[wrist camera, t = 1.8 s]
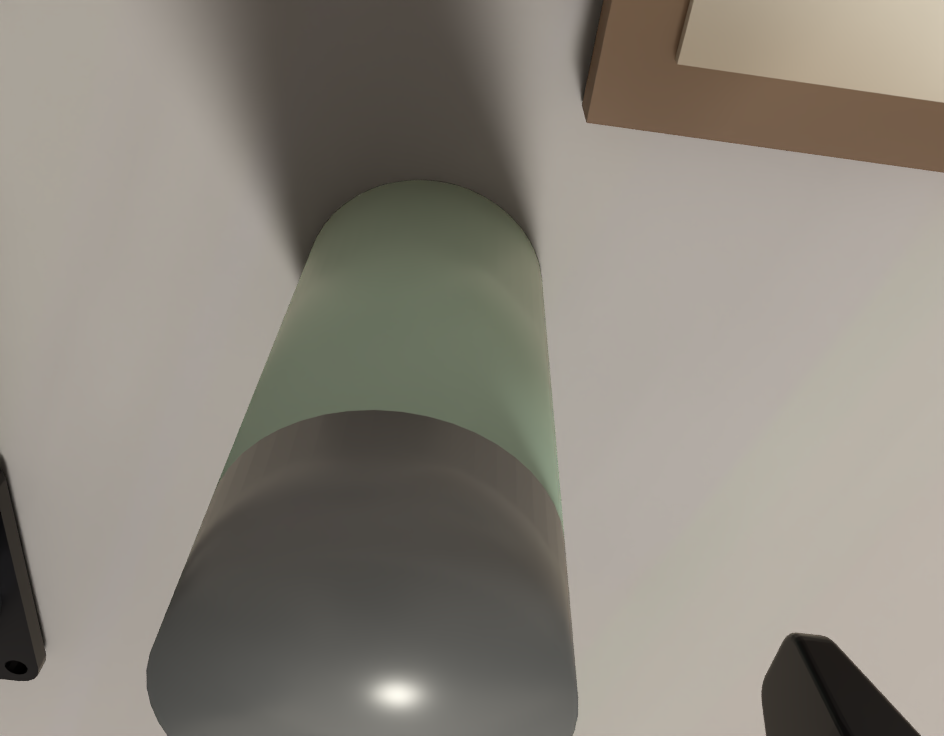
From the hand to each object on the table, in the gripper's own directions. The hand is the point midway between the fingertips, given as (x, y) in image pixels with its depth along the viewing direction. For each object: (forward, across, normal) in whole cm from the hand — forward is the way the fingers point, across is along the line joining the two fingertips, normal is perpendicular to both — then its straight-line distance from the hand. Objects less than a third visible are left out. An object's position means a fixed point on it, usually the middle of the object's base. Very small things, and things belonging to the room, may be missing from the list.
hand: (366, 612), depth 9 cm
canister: (+7, 0, 0) cm, 7 cm away
